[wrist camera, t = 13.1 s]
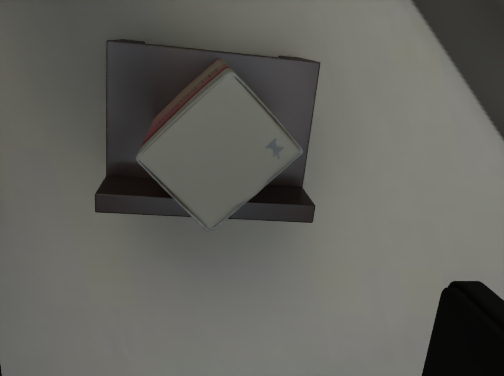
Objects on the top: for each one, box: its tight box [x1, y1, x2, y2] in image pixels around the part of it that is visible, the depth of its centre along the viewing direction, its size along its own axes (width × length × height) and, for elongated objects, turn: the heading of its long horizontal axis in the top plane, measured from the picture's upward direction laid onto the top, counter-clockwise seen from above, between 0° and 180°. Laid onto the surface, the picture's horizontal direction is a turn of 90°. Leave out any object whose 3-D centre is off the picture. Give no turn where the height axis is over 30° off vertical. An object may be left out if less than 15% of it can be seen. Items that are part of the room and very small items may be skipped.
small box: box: [136, 58, 303, 231], centre depth 21 cm, size 5×4×8 cm
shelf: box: [95, 39, 320, 223], centre depth 25 cm, size 11×8×8 cm
